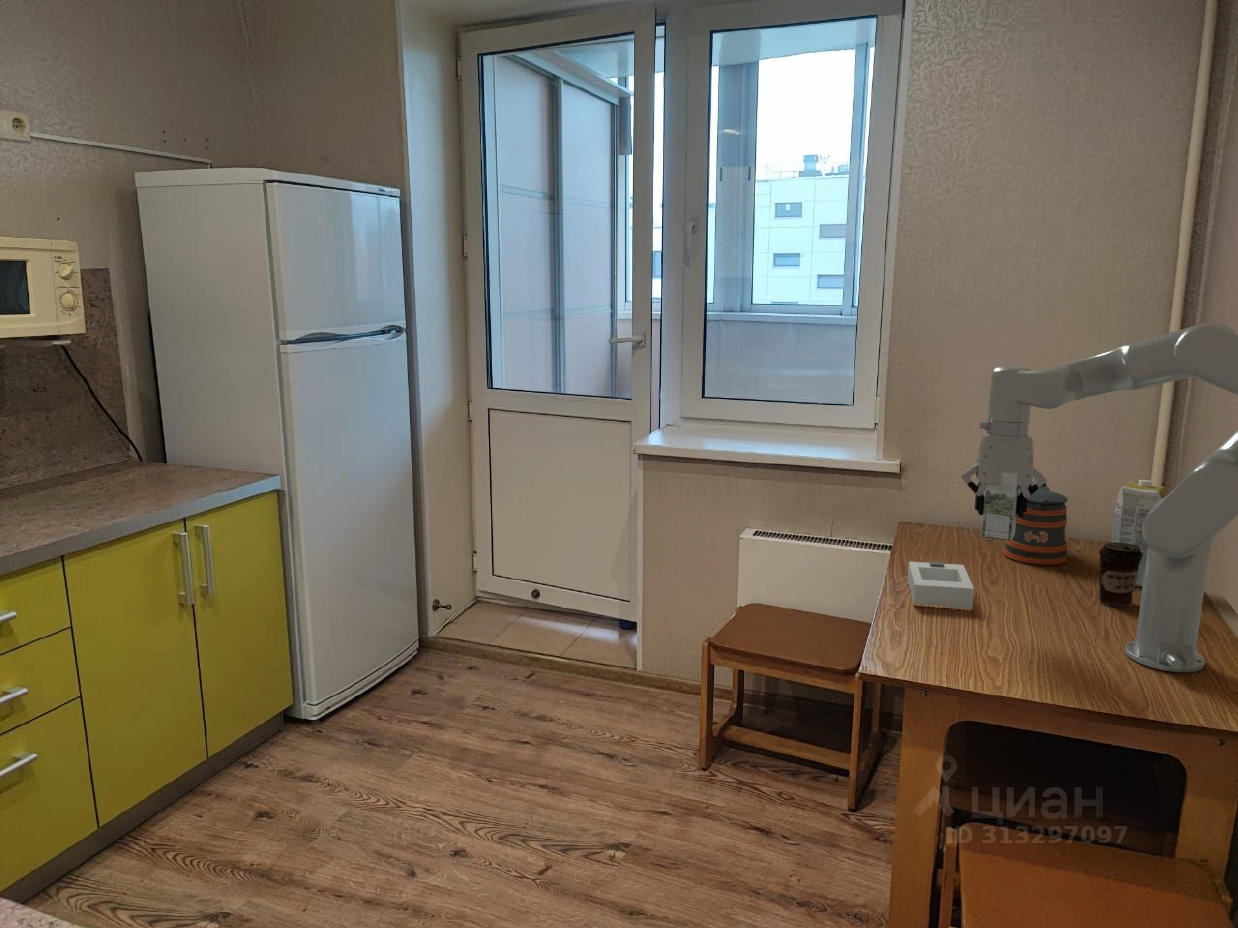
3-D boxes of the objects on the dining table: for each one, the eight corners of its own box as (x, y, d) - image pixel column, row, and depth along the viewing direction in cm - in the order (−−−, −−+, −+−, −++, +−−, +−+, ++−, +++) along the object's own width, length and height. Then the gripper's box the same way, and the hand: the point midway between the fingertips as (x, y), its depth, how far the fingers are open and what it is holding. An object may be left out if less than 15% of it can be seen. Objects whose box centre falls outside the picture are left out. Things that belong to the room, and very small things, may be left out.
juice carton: (1159, 581, 203) (1171, 481, 198) (1150, 590, 197) (1163, 487, 192) (1114, 572, 209) (1125, 475, 204) (1105, 580, 204) (1116, 481, 199)
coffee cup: (1144, 611, 185) (1151, 553, 182) (1101, 609, 187) (1107, 551, 184) (1129, 597, 193) (1135, 541, 191) (1088, 594, 195) (1094, 539, 192)
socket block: (972, 610, 187) (974, 585, 186) (913, 606, 189) (915, 582, 188) (961, 585, 202) (963, 562, 201) (907, 581, 205) (908, 559, 204)
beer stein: (997, 541, 235) (1003, 469, 230) (1056, 545, 231) (1064, 472, 226) (1007, 563, 217) (1014, 485, 213) (1072, 568, 213) (1080, 489, 209)
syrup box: (1015, 534, 179) (1021, 466, 176) (1011, 542, 174) (1017, 471, 171) (985, 530, 182) (991, 463, 179) (980, 538, 177) (986, 468, 174)
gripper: (964, 430, 172) (957, 517, 176) (1059, 433, 168) (1050, 521, 172) (958, 424, 179) (952, 507, 183) (1049, 426, 175) (1041, 512, 179)
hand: (999, 513), depth 177 cm, fingers closed on syrup box, 7 cm apart
